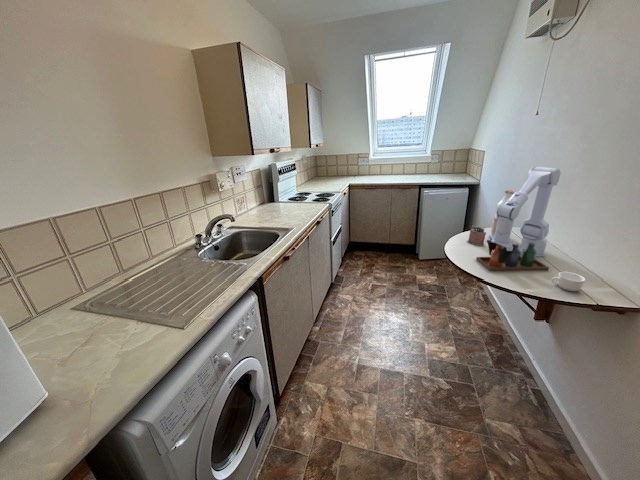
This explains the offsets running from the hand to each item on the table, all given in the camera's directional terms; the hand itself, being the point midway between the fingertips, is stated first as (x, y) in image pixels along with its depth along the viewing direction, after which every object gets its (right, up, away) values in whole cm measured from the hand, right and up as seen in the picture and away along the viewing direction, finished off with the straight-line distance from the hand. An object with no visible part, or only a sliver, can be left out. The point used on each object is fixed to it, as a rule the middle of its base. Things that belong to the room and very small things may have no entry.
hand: (496, 258), depth 123 cm
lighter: (+6, +7, +26) cm, 28 cm away
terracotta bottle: (0, -3, +1) cm, 3 cm away
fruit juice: (+23, +10, +32) cm, 40 cm away
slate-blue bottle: (+7, -3, +1) cm, 8 cm away
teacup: (+16, -11, -17) cm, 25 cm away
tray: (+7, -4, +1) cm, 8 cm away
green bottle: (+14, -3, +1) cm, 14 cm away
